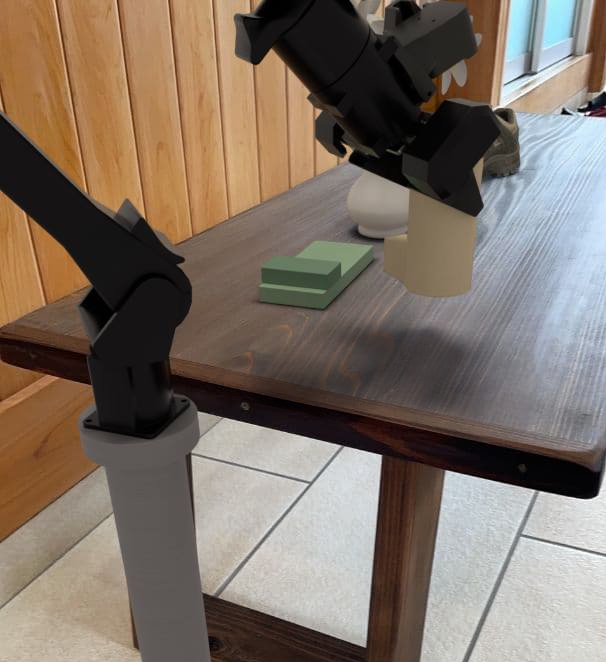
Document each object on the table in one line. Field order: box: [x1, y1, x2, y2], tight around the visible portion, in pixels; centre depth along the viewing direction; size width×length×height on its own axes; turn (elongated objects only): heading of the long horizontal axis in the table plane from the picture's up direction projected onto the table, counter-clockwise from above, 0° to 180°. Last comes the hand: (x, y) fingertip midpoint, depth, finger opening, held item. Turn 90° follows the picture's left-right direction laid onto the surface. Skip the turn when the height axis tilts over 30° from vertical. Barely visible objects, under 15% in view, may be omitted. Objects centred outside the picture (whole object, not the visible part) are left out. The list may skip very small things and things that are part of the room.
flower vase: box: [345, 0, 483, 239], centre depth 98 cm, size 13×18×25 cm
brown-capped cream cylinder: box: [382, 154, 485, 298], centre depth 70 cm, size 8×6×12 cm
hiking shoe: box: [479, 100, 521, 178], centre depth 122 cm, size 9×21×12 cm, turn 133°
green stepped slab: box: [258, 239, 375, 310], centre depth 91 cm, size 16×7×3 cm, turn 158°
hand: (458, 203), depth 69 cm, fingers closed on brown-capped cream cylinder, 5 cm apart
